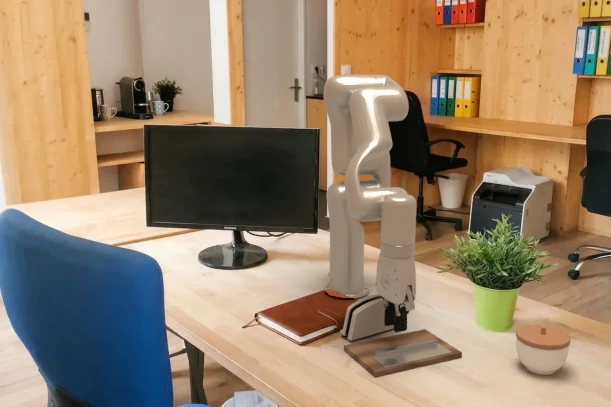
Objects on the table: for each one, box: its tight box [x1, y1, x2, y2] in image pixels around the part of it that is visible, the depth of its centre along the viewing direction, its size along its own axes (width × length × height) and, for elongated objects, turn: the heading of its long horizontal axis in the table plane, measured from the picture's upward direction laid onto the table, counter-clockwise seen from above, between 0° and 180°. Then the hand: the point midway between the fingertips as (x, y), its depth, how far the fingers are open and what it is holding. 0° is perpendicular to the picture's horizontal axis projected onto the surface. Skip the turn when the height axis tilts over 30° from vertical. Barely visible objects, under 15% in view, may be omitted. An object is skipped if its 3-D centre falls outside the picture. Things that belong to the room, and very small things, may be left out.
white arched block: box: [339, 293, 404, 341], centre depth 150 cm, size 17×5×10 cm, turn 123°
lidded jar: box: [515, 324, 571, 376], centre depth 132 cm, size 11×11×9 cm
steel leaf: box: [371, 339, 451, 368], centre depth 136 cm, size 6×17×1 cm, turn 114°
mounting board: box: [343, 328, 463, 378], centre depth 139 cm, size 14×22×1 cm, turn 114°
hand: (395, 327), depth 141 cm, fingers open, 3 cm apart
